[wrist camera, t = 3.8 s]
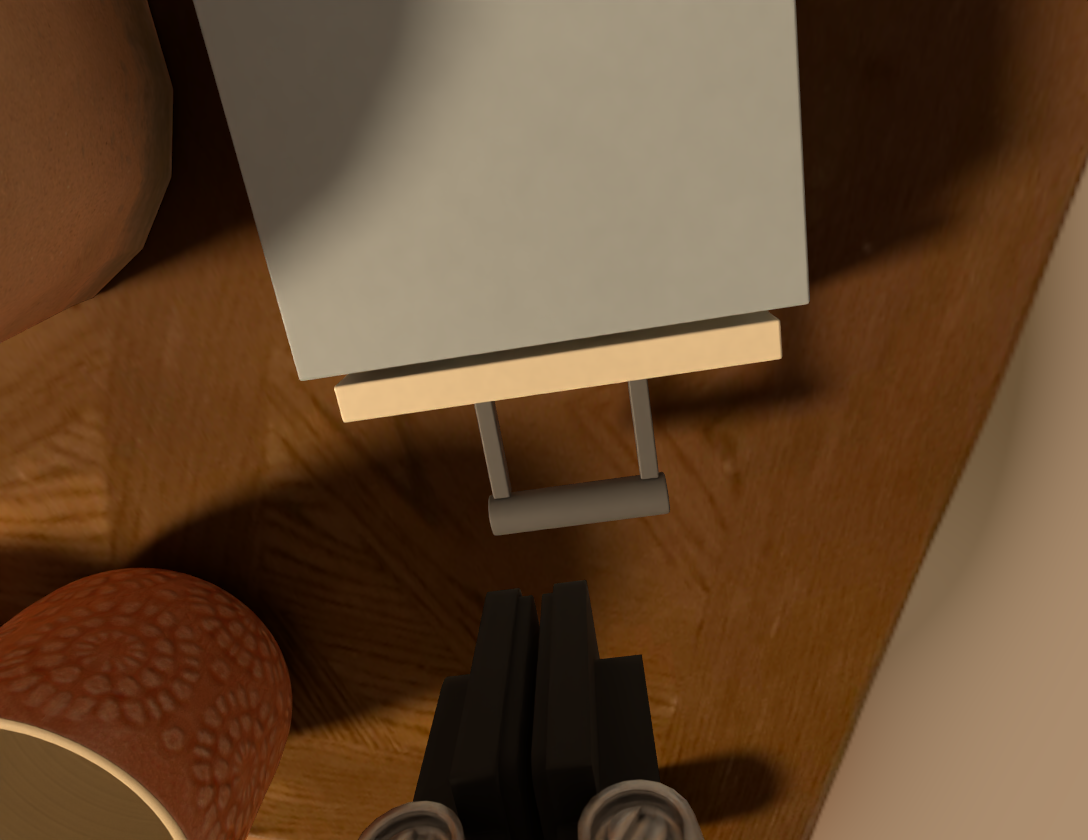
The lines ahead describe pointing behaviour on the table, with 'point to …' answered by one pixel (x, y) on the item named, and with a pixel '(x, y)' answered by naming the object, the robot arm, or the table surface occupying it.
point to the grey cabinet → (512, 167)
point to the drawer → (561, 371)
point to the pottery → (77, 149)
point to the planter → (138, 711)
